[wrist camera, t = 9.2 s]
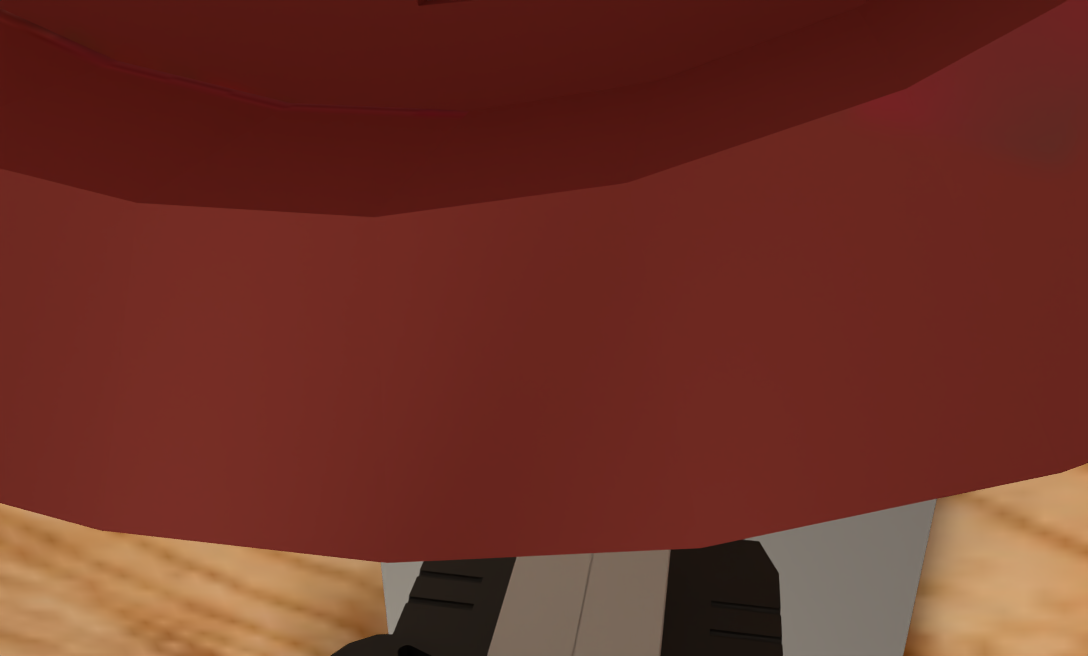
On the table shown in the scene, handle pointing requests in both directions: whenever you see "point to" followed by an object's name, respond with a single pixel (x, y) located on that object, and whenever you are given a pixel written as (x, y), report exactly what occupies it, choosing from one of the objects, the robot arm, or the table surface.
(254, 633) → the table surface
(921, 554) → the button panel
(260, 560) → the table surface
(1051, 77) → the citrus juicer
